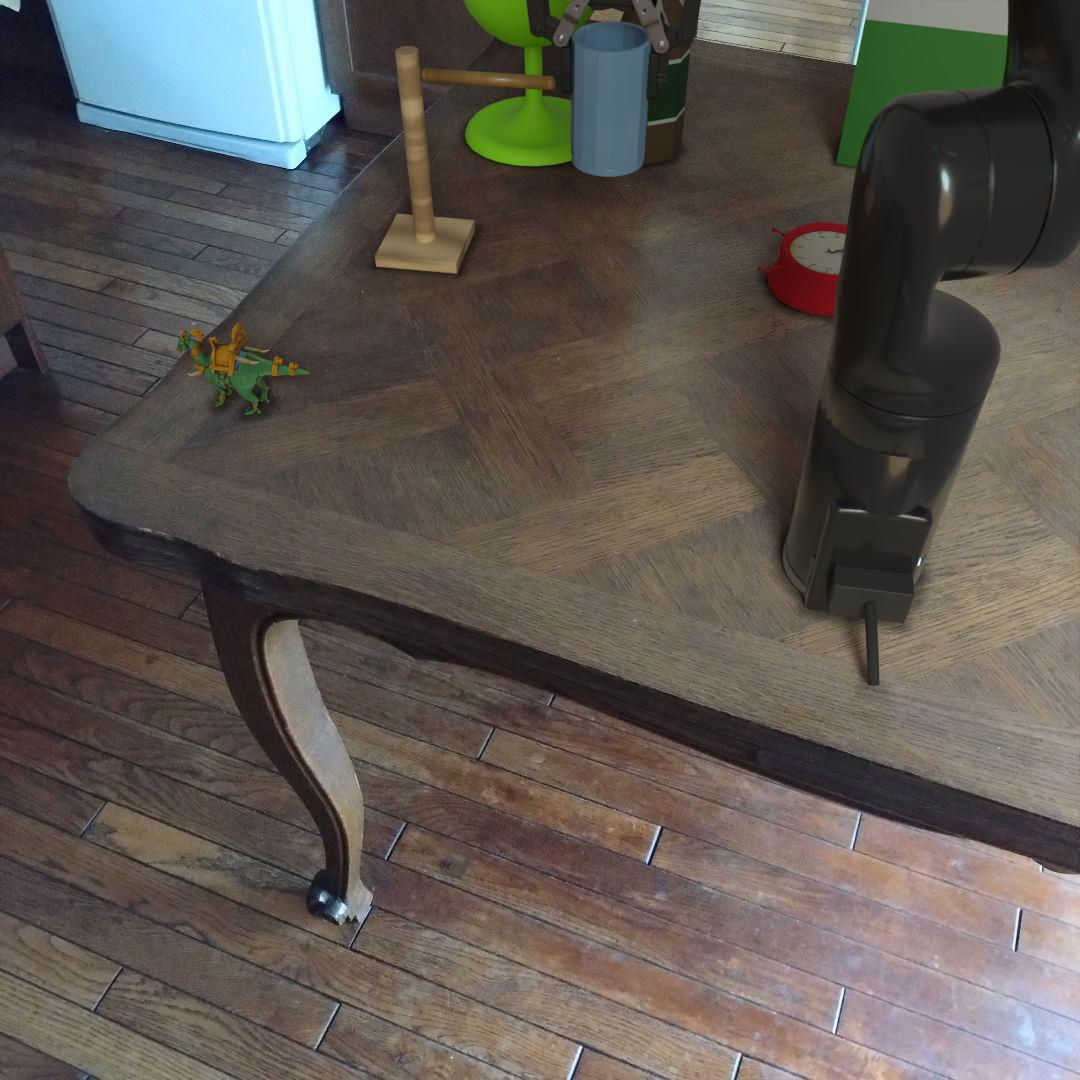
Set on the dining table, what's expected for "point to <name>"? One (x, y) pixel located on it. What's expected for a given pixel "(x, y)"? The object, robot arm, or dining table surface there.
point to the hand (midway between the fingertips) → (610, 92)
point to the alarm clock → (808, 267)
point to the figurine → (234, 365)
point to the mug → (609, 97)
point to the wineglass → (522, 122)
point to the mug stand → (422, 234)
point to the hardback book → (922, 56)
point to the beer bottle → (667, 95)
